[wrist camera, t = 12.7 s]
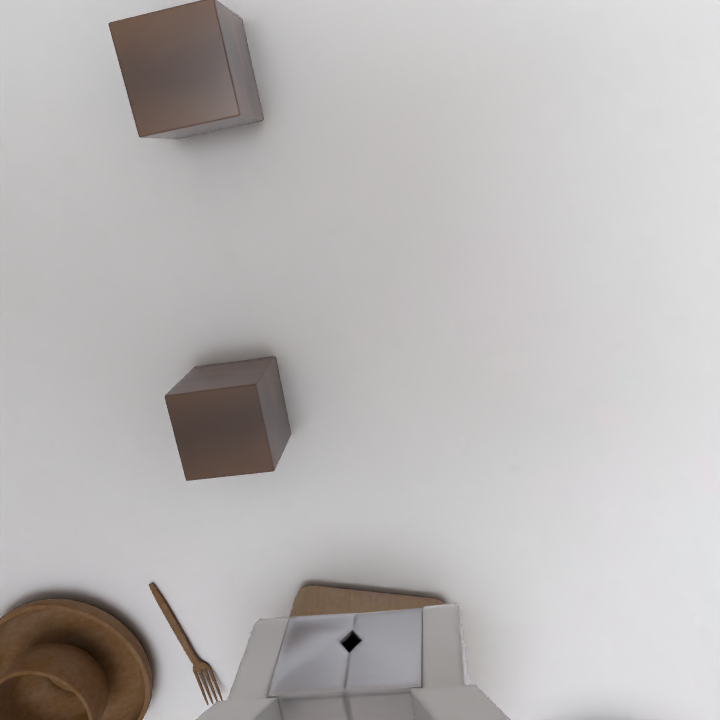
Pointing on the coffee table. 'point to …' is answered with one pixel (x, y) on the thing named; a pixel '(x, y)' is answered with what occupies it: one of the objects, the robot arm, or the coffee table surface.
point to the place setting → (78, 663)
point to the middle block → (187, 70)
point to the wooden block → (353, 601)
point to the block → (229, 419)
